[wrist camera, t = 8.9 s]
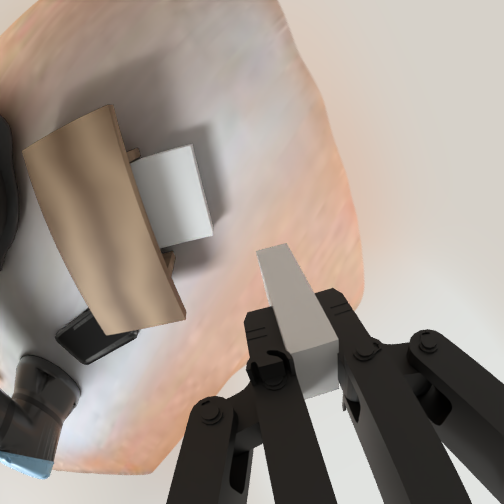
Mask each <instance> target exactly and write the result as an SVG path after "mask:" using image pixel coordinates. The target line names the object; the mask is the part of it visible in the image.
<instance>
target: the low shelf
mask: <svg viewBox="0 0 504 504" xmlns="http://www.w3.org/2000/svg"><path fill="white" fill-rule="evenodd" d="M22 154H23V157H24V161H25V164H26V167H27V171H28V174H29V177H30V180H31V183H32V186H33V189H34V192H35V195H36V198H37V200H38V203H39V206H40V208H41V211H42V213H43V216H44V218H45V221H46V223H47V226H48V228H49V230H50V233H51V235H52V237H53V240H54V242H55V244H56V246H57V248H58V250H59V253H60V255H61V257H62V259H63V261H64V263H65V265H66V267H67V269H68V271H69V273H70V275H71V277H72V278H73V280H74V282H75V284H76V286H77V288H78V290H79V291H80V293H81V295H82V297H83V298H84V300H85V302H86V304H87V305H88V307H89V309H90V310H91V312H92V314H93V315H94V317H95V319H96V320H97V322H98V323H99V325H100V326H101V328H102V330H103V331H104V333H105V334H106V335H112V334H118V333H123V332H128V331H133V330H139V329H144V328H149V327H154V326H159V325H163V324H168V323H173V322H178V321H182V320H186V310H185V308H184V305H183V303H182V301H181V299H180V296H179V294H178V292H177V289H176V287H175V285H174V282H173V280H172V278H171V276H172V271H173V267H174V262H175V255H174V252H173V251H170V252H166V253H163V254H162V253H161V251H160V248H159V245H158V243H157V240H156V238H155V235H154V232H153V230H152V227H151V224H150V222H149V219H148V216H147V213H146V211H145V208H144V205H143V202H142V199H141V196H140V193H139V190H138V187H137V184H136V181H135V178H134V175H133V172H132V169H131V166H130V163H129V162H131V161H133V160H134V159H136V158H138V157H140V156H141V155H140V152H139V149H138V148H136V149H133V150H131V151H128V152H126V149H125V146H124V143H123V139H122V136H121V132H120V129H119V125H118V121H117V117H116V114H115V110H114V106H113V105H106V106H103V107H101V108H99V109H97V110H95V111H93V112H90V113H88V114H86V115H84V116H82V117H80V118H78V119H76V120H74V121H72V122H70V123H68V124H67V125H65V126H63V127H61V128H59V129H57V130H56V131H54V132H52V133H50V134H49V135H47V136H45V137H44V138H42V139H40V140H39V141H37V142H35V143H34V144H32V145H30V146H29V147H27V148H26V149H24V150H23V151H22Z"/></svg>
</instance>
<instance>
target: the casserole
mask: <svg viewBox="0 0 504 504" xmlns="http://www.w3.org/2000/svg"><path fill="white" fill-rule="evenodd" d="M18 220H19V198H18V189H17V184H16V179H15V174H14V169H13V159H12V134H11V130H10V126H9V125H8V123H7V122H6V120H5V119H4V118H3V117H2V116H1V115H0V271H1V270H2V266H3V262H4V258H5V255H6V253H7V251H8V249H9V247H10V246H11V244H12V242H13V240H14V238H15V234H16V231H17V227H18Z"/></svg>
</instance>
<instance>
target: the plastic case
mask: <svg viewBox="0 0 504 504" xmlns="http://www.w3.org/2000/svg"><path fill="white" fill-rule="evenodd" d="M129 163H130V166H131V169H132V172H133V175H134V178H135V181H136V184H137V187H138V190H139V193H140V196H141V199H142V202H143V205H144V208H145V211H146V213H147V216H148V219H149V222H150V224H151V227H152V230H153V232H154V235H155V238H156V240H157V243H158V245H159V248H163V247H167V246H171V245H175V244H179V243H184V242H188V241H192V240H196V239H200V238H204V237H208V236H213V224H212V220H211V216H210V212H209V209H208V205H207V201H206V197H205V193H204V189H203V185H202V181H201V177H200V173H199V169H198V165H197V161H196V157H195V153H194V149H193V144H188V145H184V146H181V147H177V148H173V149H170V150H166V151H163V152H160V153H156V154H153V155H150V156H147V157H143V158H140V159H137V160H134V161H131V162H129Z"/></svg>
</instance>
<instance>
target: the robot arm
mask: <svg viewBox="0 0 504 504" xmlns="http://www.w3.org/2000/svg"><path fill="white" fill-rule="evenodd" d="M256 254H257V258H258V262H259V266H260V270H261V274H262V278H263V283H264V287H265V291H266V295H267V299H268V302H269V305H270V307H267V308H263V309H259V310H255V311H251V312H248V313H247V315H246V318H245V320H244V326H245V332H246V338H247V344H248V350H249V356H250V359H249V360H248V362H247V366H246V371H247V373H248V376H249V378H250V382H249V384H248V385H247V387H246V388H245V389H244V390H242V391H241V392H239V393H237V394H236V395H234V396H232V397H230V398H228V399H225V398H223V397H218V396H212V397H206V398H204V399H202V400H200V401H199V402H198V403H197V404H196V405H194V407H193V409H192V411H191V413H190V416H189V420H188V423H187V427H186V431H185V434H184V438H183V442H182V445H181V449H180V453H179V457H178V460H177V464H176V468H175V472H174V476H173V480H172V483H171V487H170V491H169V495H168V499H167V503H166V504H247V496H248V488H249V481H250V473H251V465H252V457H253V449H254V448H255V447H257V446H259V445H261V444H262V443H263V445H264V450H265V455H266V461H267V466H268V471H269V475H270V480H271V486H272V491H273V495H274V500H275V504H337V501H336V498H335V494H334V491H333V488H332V485H331V482H330V479H329V476H328V472H327V469H326V466H325V463H324V460H323V456H322V453H321V450H320V447H319V444H318V441H317V438H316V435H315V431H314V428H313V425H312V422H311V419H310V416H309V413H308V409H307V406H306V403H305V399H308V398H311V397H315V396H317V395H321V394H324V393H327V392H330V391H333V390H336V389H339V383H340V386H341V388H342V390H343V403H342V406H343V411H345V410H346V408H347V410H348V413H349V415H350V418H351V420H352V423H353V425H354V428H355V430H356V432H357V435H358V437H359V440H360V442H361V445H362V447H363V450H364V452H365V455H366V457H367V460H368V462H369V465H370V468H371V470H372V473H373V475H374V478H375V480H376V483H377V486H378V488H379V491H380V493H381V496H382V499H383V502H384V504H472V503H471V500H470V498H469V496H468V494H467V492H466V490H465V487H464V485H463V483H462V481H461V479H460V477H459V475H458V473H457V471H456V469H455V467H454V465H453V463H452V461H451V459H450V457H449V455H448V453H447V451H446V449H445V448H444V446H443V444H442V442H443V443H444V445H445V446H446V447H447V448H448V449H449V450H450V451H451V452H452V453H453V454H454V455H455V456H456V457H457V458H458V459H459V460H460V461H461V462H462V463H463V464H464V465H465V466H466V467H467V468H468V469H469V470H470V471H471V473H472V474H473V475H474V476H475V477H476V478H477V479H478V480H479V481H480V482H481V483H482V484H483V485H484V486H485V487H486V488H487V489H488V490H489V491H490V492H491V493H492V495H493V496H494V497H495V498H496V499H497V500H498V501H499V502H500V503H501V504H504V384H503V383H502V382H500V381H499V380H498V379H497V378H496V377H494V376H493V375H492V374H491V373H490V372H488V371H487V370H486V369H485V368H484V367H482V366H481V365H480V364H478V363H477V362H476V361H475V360H474V359H472V358H471V357H470V356H469V355H467V354H466V353H465V352H463V351H462V350H461V349H460V348H459V347H457V346H456V345H455V344H453V343H452V342H451V341H449V340H448V339H447V338H446V337H444V336H443V335H442V334H440V333H438V332H437V331H434V330H428V329H427V330H420V331H419V332H417V333H415V334H414V335H413V336H412V337H411V339H410V342H409V343H402V344H392V345H391V344H383V343H381V342H380V341H379V340H377V339H375V338H373V337H371V336H370V335H369V334H368V332H367V331H366V329H365V327H364V326H363V324H362V323H361V321H360V320H359V318H358V317H357V315H356V313H355V312H354V310H352V307H351V306H350V304H348V301H347V300H346V298H345V297H344V295H343V294H342V293H340V292H339V291H337V290H335V289H334V288H331V289H328V290H324V291H321V292H318V293H314V292H313V290H312V288H311V286H310V285H309V283H308V281H307V279H306V277H305V275H304V274H303V272H302V270H301V268H300V266H299V265H298V263H297V261H296V259H295V257H294V256H293V254H292V252H291V250H290V248H289V247H288V245H287V243H285V244H281V245H277V246H274V247H270V248H266V249H262V250H258V251H256ZM79 397H80V391H79V388H78V386H77V385H76V383H75V382H74V381H73V380H72V378H71V377H70V376H69V375H67V374H66V373H65V372H64V371H63V370H61V369H60V368H59V367H57V366H56V365H54V364H52V363H51V362H49V361H47V360H45V359H42V358H40V357H36V356H30V355H28V356H24V357H22V358H21V360H20V362H19V363H18V365H17V368H16V377H15V387H14V393H13V396H12V398H10V397H9V396H8V395H7V394H6V393H5V392H4V391H3V390H2V389H0V462H1V463H3V464H4V465H6V466H8V467H10V468H12V469H14V470H16V471H19V472H21V473H23V474H26V475H29V476H31V477H35V478H38V479H47V478H48V477H49V476H50V473H51V470H52V467H53V464H54V458H55V453H56V449H57V445H58V441H59V437H60V433H61V429H62V425H63V422H64V421H65V419H66V418H67V417H68V416H69V414H70V413H71V412H72V411H73V409H74V408H75V407H76V406H77V404H78V401H79ZM441 441H442V442H441Z"/></svg>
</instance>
